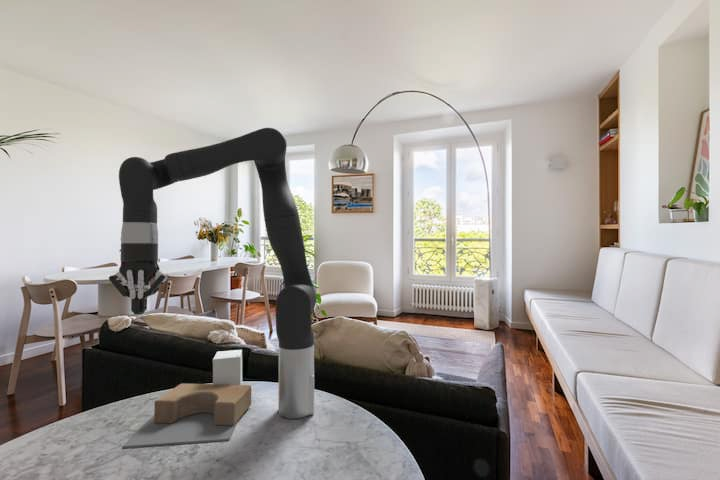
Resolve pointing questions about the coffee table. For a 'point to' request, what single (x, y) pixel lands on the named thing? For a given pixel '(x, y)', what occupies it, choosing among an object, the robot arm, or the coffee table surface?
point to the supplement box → (227, 367)
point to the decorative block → (203, 402)
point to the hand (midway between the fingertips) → (138, 313)
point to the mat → (181, 432)
